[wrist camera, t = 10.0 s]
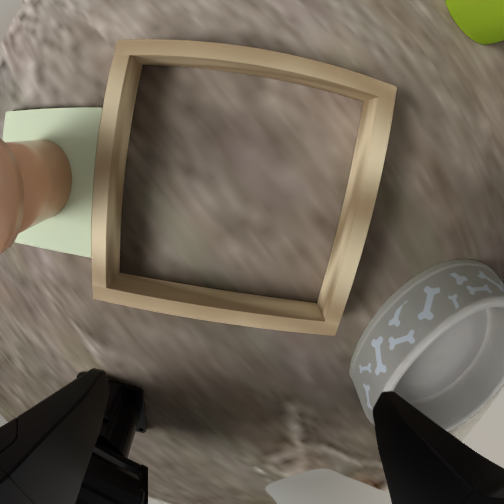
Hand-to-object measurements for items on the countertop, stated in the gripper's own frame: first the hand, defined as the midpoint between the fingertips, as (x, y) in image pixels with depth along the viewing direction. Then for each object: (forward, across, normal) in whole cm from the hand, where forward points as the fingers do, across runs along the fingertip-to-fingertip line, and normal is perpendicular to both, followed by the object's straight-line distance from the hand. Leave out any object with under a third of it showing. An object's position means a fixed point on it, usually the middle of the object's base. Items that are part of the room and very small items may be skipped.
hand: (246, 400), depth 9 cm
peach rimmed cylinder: (+12, +15, -4) cm, 19 cm away
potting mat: (+12, +15, -4) cm, 20 cm away
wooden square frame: (+12, +1, -5) cm, 13 cm away
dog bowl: (+13, -19, +7) cm, 24 cm away
